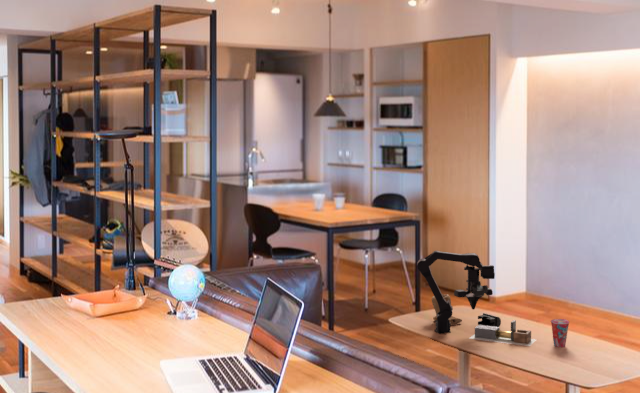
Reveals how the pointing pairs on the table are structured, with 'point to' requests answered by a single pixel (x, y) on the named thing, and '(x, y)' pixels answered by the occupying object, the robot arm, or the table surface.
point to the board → (504, 340)
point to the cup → (559, 331)
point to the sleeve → (486, 332)
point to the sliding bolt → (507, 334)
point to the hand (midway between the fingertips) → (473, 309)
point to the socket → (522, 336)
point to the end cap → (489, 320)
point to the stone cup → (435, 304)
